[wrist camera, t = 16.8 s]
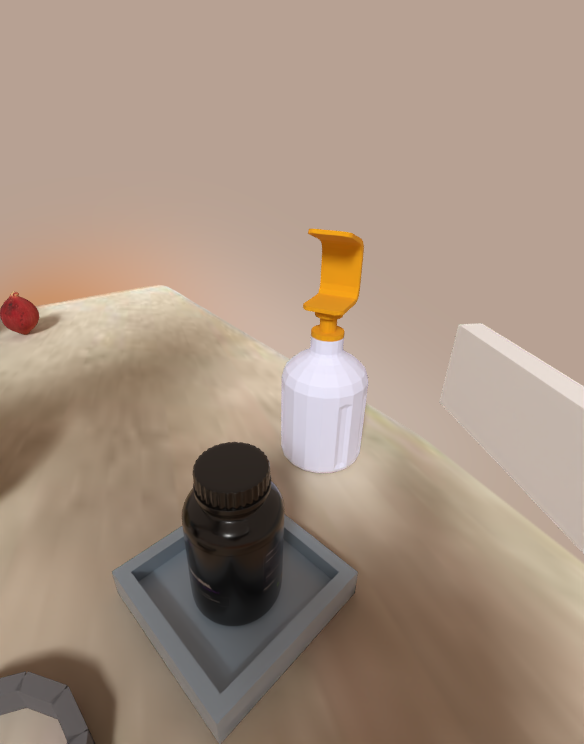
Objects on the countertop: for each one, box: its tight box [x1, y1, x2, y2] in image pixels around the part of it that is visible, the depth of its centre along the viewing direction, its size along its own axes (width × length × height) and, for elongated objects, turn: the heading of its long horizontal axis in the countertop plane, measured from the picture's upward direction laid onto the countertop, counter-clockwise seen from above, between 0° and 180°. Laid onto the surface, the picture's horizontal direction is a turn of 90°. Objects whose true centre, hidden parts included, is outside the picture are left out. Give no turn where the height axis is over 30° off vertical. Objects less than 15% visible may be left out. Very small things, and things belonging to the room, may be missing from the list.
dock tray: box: [112, 514, 358, 744], centre depth 31 cm, size 13×13×2 cm
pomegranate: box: [0, 292, 39, 335], centre depth 73 cm, size 6×6×8 cm
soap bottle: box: [281, 229, 368, 473], centre depth 41 cm, size 9×9×25 cm
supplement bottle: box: [182, 442, 284, 626], centre depth 28 cm, size 7×7×12 cm
